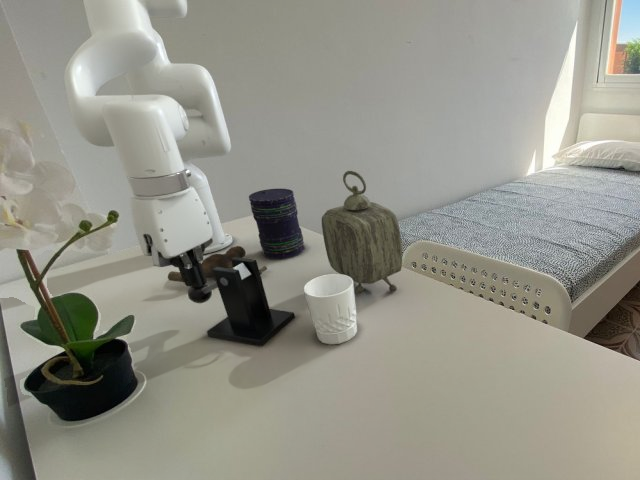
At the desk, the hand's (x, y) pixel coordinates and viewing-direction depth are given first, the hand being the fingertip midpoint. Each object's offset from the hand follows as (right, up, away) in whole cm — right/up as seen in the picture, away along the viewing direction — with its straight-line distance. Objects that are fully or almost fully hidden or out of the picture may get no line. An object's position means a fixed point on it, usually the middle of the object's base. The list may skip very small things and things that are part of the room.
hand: (196, 284), depth 73 cm
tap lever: (+5, -1, -1) cm, 6 cm away
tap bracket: (+9, -8, +1) cm, 12 cm away
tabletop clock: (+27, -2, +14) cm, 30 cm away
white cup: (+25, -9, 0) cm, 27 cm away
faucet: (-5, +1, +19) cm, 20 cm away
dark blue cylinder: (+1, +7, +31) cm, 32 cm away
